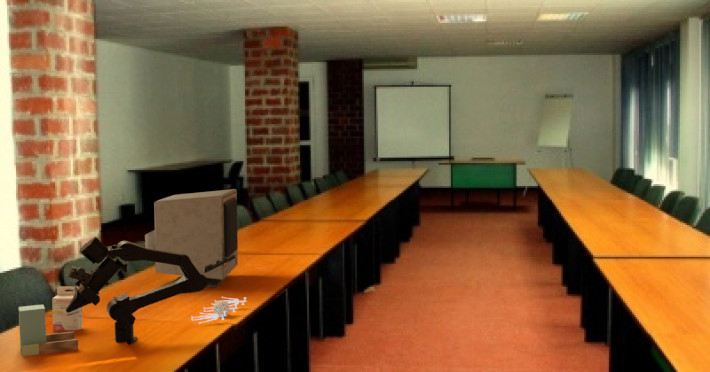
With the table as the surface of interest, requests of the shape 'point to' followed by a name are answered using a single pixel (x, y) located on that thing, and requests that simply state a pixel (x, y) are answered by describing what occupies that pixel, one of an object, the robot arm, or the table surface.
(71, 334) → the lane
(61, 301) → the ink cartridge box
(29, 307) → the block
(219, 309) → the molecule model
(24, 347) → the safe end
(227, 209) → the crt monitor
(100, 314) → the table surface
